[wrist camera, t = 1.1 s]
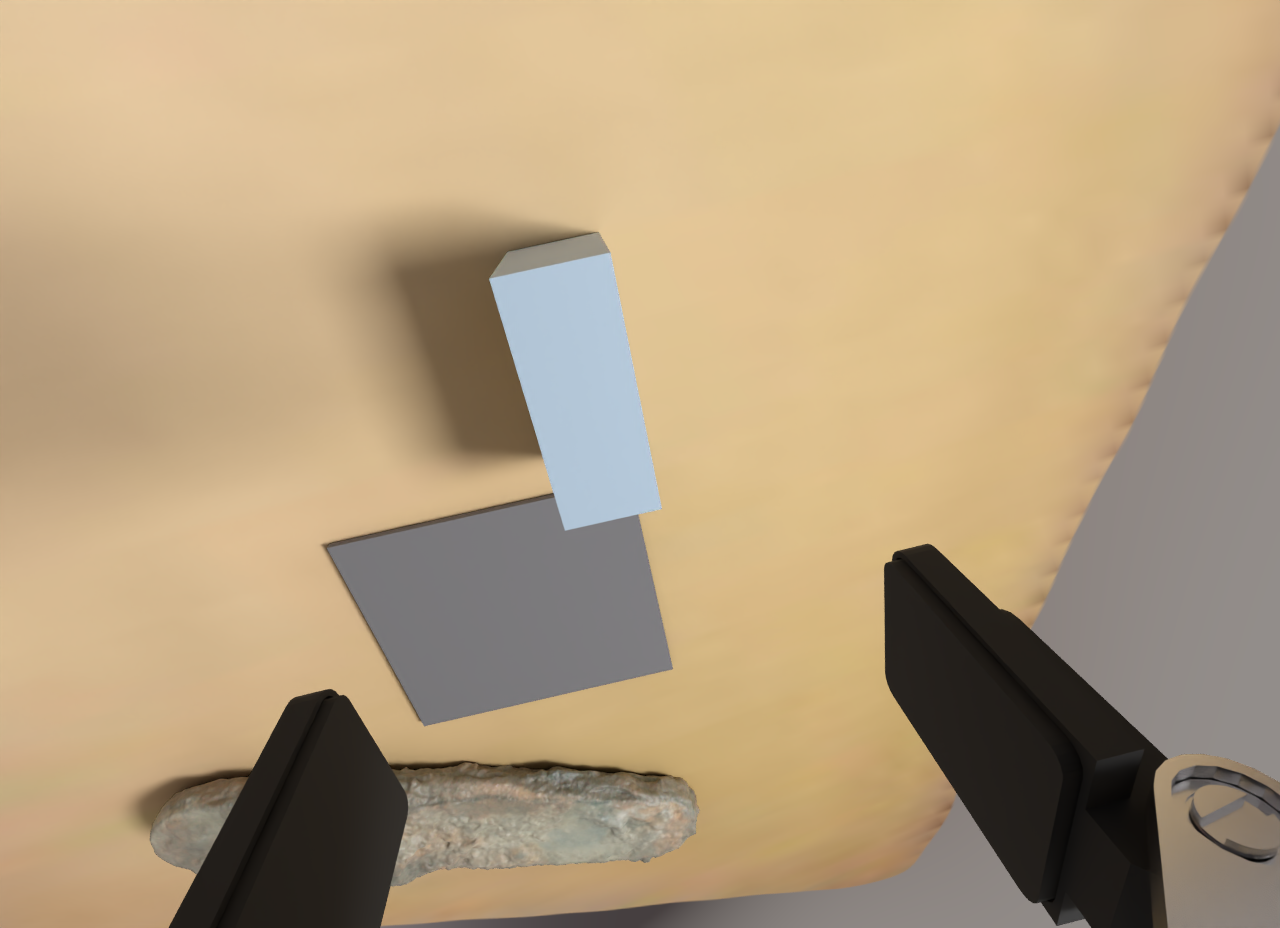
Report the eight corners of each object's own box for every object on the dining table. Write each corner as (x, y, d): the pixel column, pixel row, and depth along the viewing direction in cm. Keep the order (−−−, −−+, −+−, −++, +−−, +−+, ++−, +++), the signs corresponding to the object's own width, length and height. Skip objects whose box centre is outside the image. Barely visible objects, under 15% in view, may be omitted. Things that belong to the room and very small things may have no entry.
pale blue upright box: (506, 251, 25) (487, 278, 19) (598, 232, 25) (610, 252, 19) (563, 454, 29) (563, 531, 23) (640, 437, 29) (661, 509, 23)
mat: (329, 543, 30) (326, 548, 30) (629, 476, 30) (630, 480, 30) (425, 720, 36) (424, 726, 36) (671, 664, 37) (672, 669, 36)
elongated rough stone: (675, 819, 47) (697, 730, 43) (692, 888, 42) (719, 795, 39) (183, 858, 39) (157, 753, 35) (136, 948, 35) (101, 839, 31)
